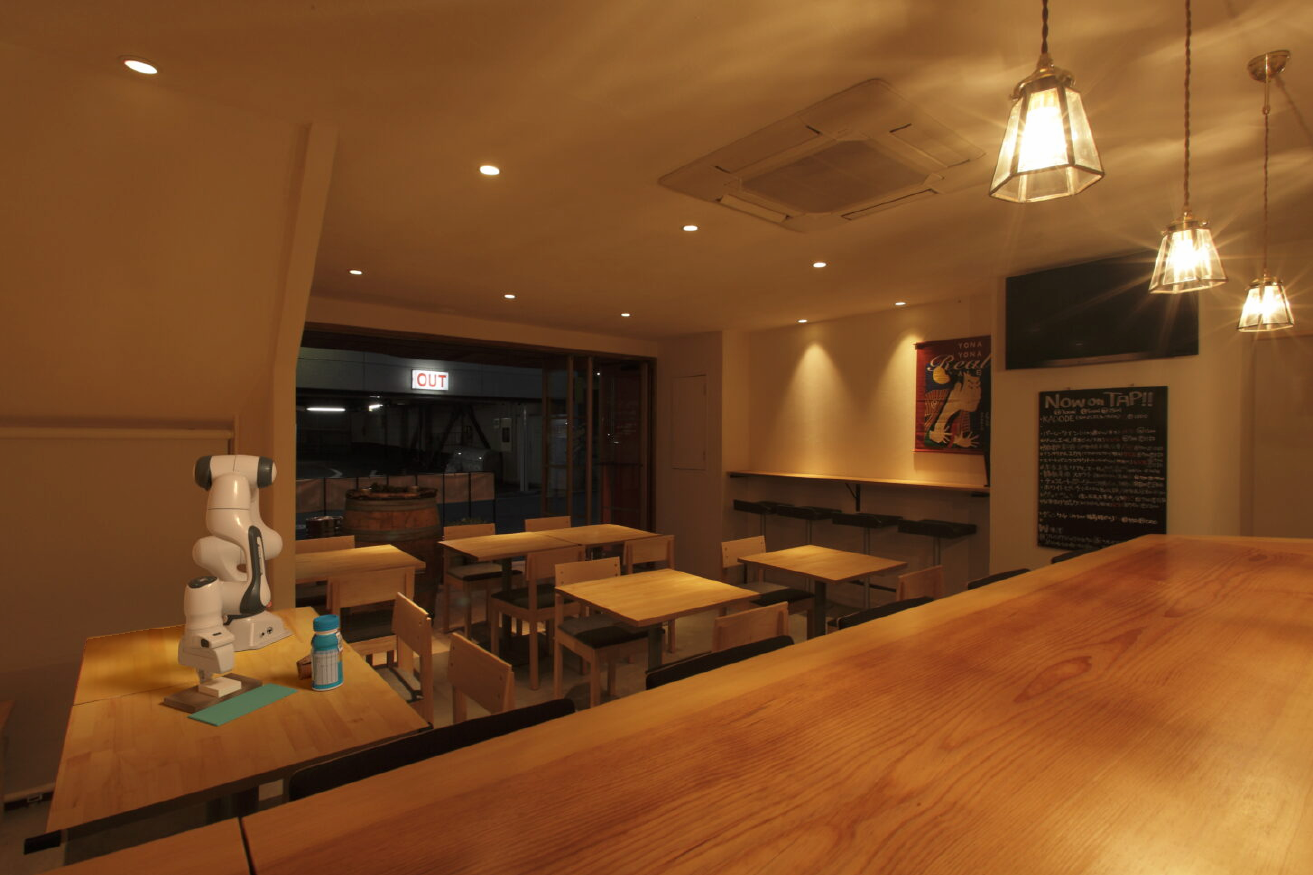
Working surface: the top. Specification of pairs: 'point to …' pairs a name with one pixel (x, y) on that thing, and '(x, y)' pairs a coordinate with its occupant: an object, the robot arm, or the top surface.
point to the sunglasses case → (305, 667)
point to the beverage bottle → (326, 653)
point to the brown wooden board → (199, 701)
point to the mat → (242, 704)
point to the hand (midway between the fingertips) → (205, 683)
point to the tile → (219, 686)
